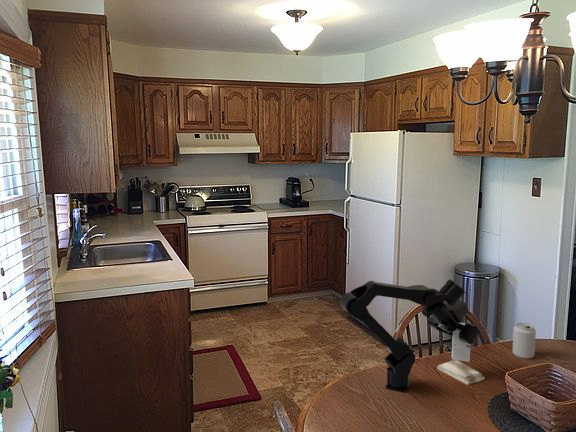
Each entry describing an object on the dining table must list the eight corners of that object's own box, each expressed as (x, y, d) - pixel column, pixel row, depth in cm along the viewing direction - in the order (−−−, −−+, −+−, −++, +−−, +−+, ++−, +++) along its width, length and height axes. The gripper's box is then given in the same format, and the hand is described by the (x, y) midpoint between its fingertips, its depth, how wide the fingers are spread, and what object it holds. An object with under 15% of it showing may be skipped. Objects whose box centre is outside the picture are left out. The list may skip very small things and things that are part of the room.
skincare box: (451, 360, 167) (452, 326, 165) (451, 354, 171) (452, 322, 169) (470, 362, 165) (472, 328, 163) (469, 356, 169) (471, 323, 168)
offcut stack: (467, 385, 161) (467, 378, 160) (436, 368, 173) (436, 362, 173) (484, 379, 164) (485, 372, 164) (453, 363, 177) (453, 357, 176)
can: (532, 361, 177) (533, 330, 176) (510, 356, 182) (511, 326, 180) (536, 354, 183) (537, 324, 182) (515, 349, 188) (516, 320, 186)
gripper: (477, 302, 155) (499, 329, 161) (435, 288, 171) (456, 313, 178) (458, 330, 152) (481, 356, 159) (417, 313, 169) (440, 337, 175)
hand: (464, 339), depth 168 cm, fingers closed on skincare box, 7 cm apart
